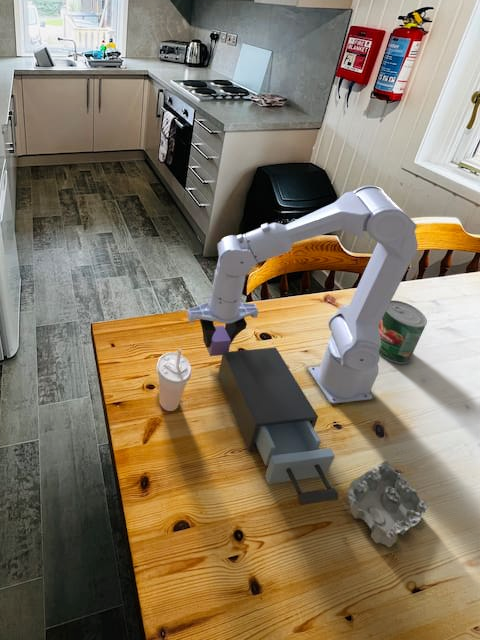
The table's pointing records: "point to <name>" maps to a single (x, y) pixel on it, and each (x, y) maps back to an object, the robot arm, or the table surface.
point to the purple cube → (219, 342)
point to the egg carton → (385, 503)
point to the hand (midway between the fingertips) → (216, 342)
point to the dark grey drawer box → (262, 391)
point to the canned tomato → (400, 331)
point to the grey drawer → (296, 458)
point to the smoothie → (172, 379)
